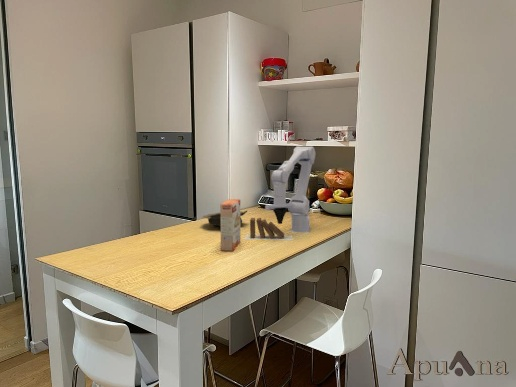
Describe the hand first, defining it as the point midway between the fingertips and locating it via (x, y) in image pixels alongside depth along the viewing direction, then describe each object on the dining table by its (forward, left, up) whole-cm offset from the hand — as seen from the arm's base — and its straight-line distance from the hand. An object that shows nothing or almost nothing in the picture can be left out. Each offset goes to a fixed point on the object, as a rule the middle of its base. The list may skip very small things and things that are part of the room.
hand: (279, 223), depth 188 cm
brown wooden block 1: (+13, 0, -7) cm, 15 cm away
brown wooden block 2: (+8, 0, -7) cm, 11 cm away
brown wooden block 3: (+3, 0, -6) cm, 7 cm away
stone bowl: (+32, -24, -8) cm, 41 cm away
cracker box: (+21, +15, -8) cm, 27 cm away
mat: (+6, 0, -8) cm, 9 cm away
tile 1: (-2, 0, -6) cm, 6 cm away
